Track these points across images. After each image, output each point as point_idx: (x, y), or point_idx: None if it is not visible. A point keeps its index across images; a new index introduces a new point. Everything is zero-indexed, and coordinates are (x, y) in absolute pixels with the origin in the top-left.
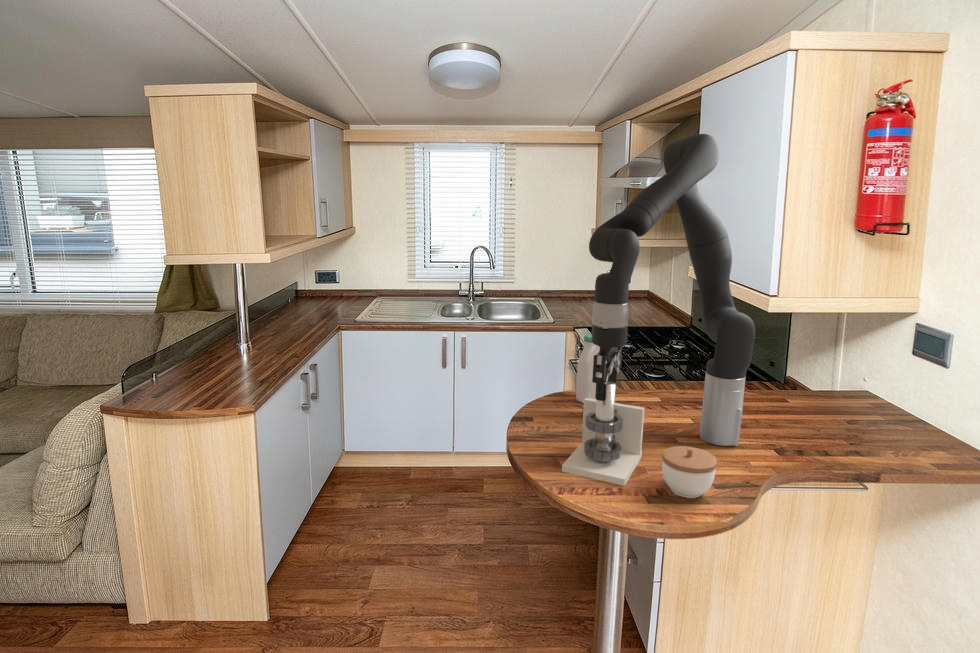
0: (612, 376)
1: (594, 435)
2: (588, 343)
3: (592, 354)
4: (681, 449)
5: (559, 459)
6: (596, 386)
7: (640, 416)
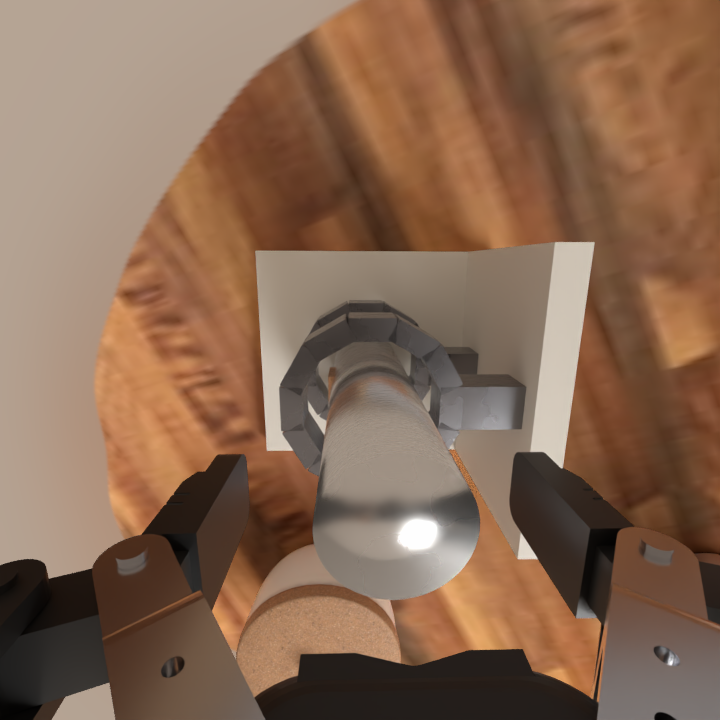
0: (563, 558)
1: (358, 346)
2: None
3: None
4: (357, 641)
5: (342, 210)
6: (177, 517)
7: (503, 526)
